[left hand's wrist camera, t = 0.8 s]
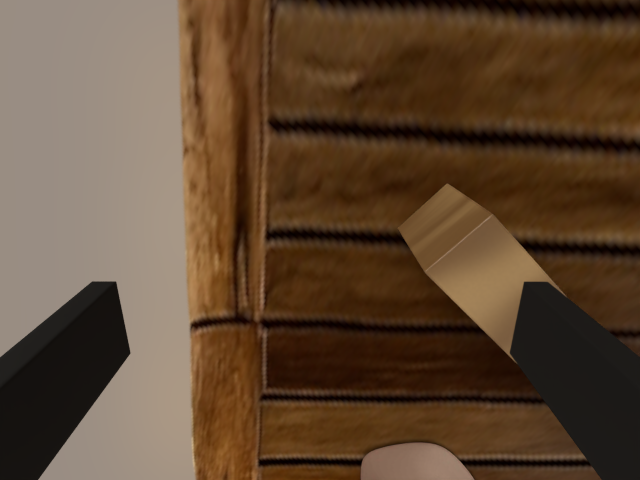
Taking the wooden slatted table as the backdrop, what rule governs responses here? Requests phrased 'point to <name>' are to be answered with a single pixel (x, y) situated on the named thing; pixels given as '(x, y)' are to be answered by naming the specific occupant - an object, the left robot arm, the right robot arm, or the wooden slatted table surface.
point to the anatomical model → (413, 463)
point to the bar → (472, 260)
